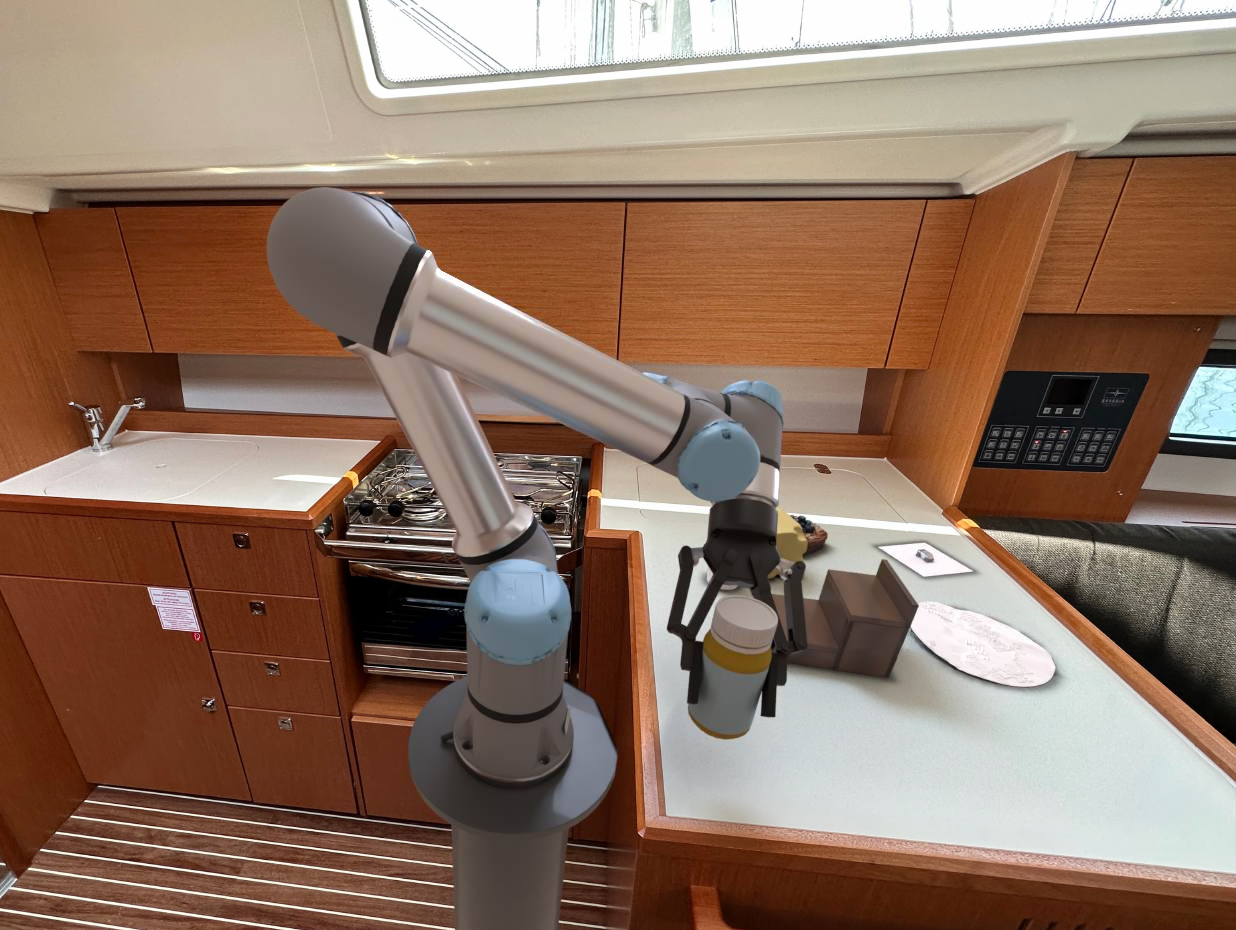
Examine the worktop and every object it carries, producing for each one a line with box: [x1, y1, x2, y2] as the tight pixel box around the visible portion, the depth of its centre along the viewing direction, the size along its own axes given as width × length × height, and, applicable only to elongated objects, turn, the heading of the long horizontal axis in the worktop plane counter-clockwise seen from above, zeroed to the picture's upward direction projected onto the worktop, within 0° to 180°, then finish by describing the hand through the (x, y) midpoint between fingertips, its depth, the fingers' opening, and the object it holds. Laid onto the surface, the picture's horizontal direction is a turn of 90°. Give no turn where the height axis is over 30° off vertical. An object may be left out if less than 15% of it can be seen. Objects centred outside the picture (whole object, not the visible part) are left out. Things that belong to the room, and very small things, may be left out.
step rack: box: [771, 558, 919, 679], centre depth 91 cm, size 17×13×13 cm
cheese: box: [767, 507, 807, 580], centre depth 112 cm, size 10×11×10 cm
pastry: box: [789, 514, 829, 558], centre depth 123 cm, size 11×12×6 cm
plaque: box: [910, 601, 1056, 688], centre depth 95 cm, size 20×20×2 cm
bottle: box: [687, 594, 778, 740], centre depth 63 cm, size 7×7×15 cm
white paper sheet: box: [878, 542, 974, 578], centre depth 119 cm, size 12×12×2 cm
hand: (729, 709), depth 62 cm, fingers closed on bottle, 7 cm apart
